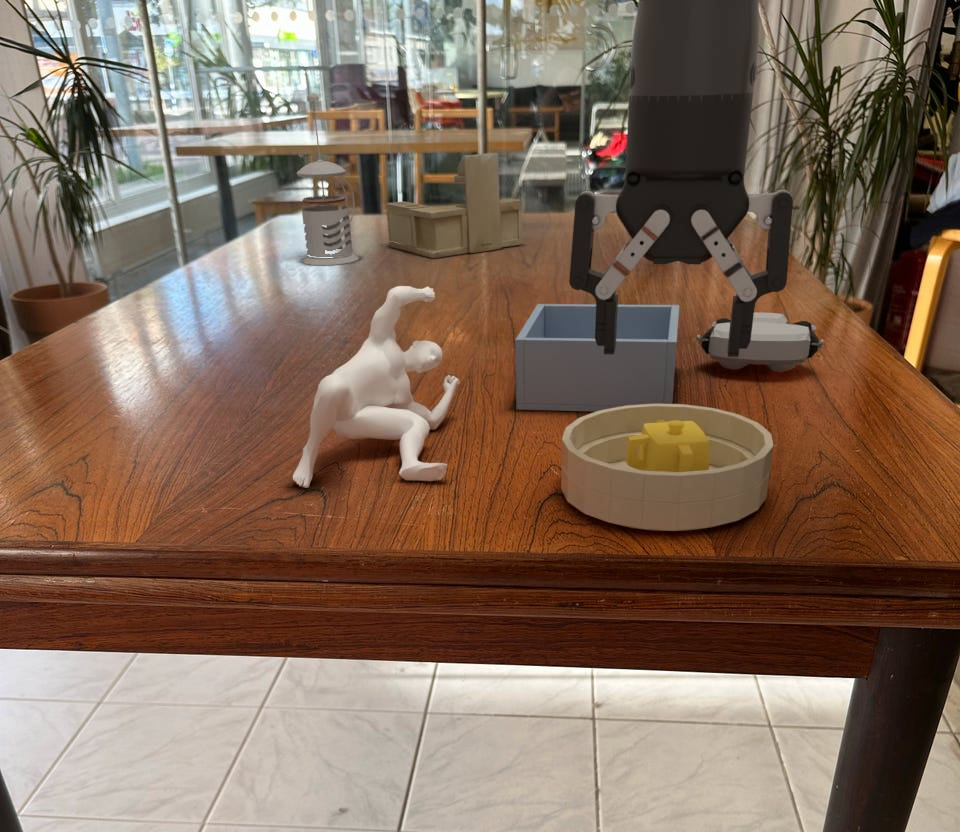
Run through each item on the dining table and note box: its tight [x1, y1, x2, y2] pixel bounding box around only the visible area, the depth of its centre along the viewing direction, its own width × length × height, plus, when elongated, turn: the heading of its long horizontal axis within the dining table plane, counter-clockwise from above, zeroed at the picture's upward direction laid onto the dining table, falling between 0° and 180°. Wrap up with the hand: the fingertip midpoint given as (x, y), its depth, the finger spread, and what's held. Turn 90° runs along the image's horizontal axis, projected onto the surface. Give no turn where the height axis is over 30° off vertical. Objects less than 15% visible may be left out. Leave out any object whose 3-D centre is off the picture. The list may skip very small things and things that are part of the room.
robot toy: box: [696, 311, 825, 373], centre depth 100 cm, size 12×4×15 cm
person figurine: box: [292, 285, 460, 489], centre depth 79 cm, size 13×13×18 cm
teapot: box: [626, 420, 709, 472], centre depth 70 cm, size 8×6×5 cm
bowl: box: [560, 403, 774, 532], centre depth 71 cm, size 15×15×4 cm
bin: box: [514, 303, 680, 413], centre depth 93 cm, size 15×15×7 cm
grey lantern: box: [296, 92, 360, 266], centre depth 157 cm, size 10×12×25 cm
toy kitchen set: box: [386, 152, 523, 260], centre depth 166 cm, size 18×17×15 cm
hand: (670, 353), depth 66 cm, fingers open, 8 cm apart
